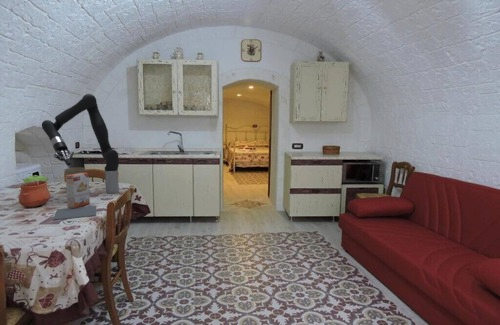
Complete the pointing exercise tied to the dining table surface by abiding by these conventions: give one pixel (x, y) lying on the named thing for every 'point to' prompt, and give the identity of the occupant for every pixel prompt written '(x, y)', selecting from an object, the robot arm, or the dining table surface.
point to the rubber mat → (75, 212)
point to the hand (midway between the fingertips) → (69, 164)
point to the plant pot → (74, 171)
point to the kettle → (35, 178)
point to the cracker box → (77, 190)
